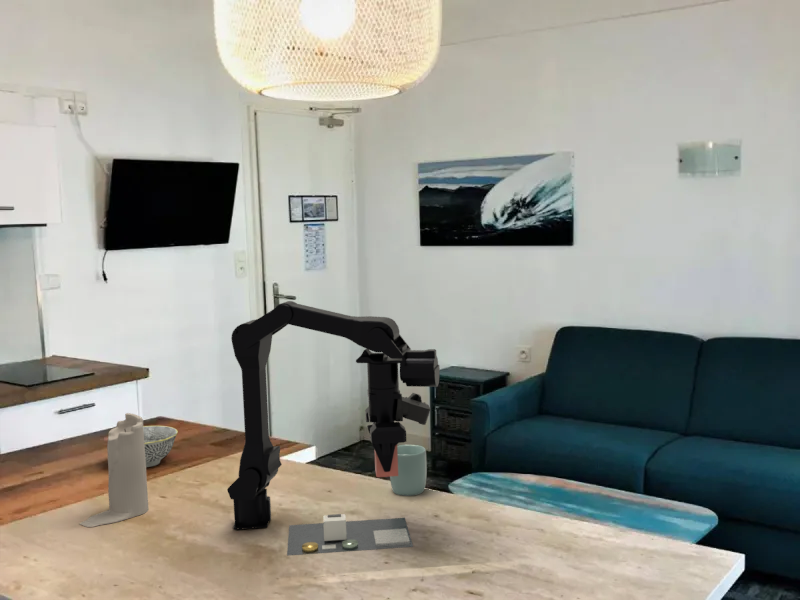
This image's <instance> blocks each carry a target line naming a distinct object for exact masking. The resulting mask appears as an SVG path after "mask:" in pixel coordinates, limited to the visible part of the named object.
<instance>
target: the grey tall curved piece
mask: <svg viewBox="0 0 800 600" xmlns="http://www.w3.org/2000/svg"><path fill="white" fill-rule="evenodd" d="M124 416H125V417H124V418H125V419H124V420H118V421H117V423H116V426H115V427H113V428H111V429H110V430H109V432H108V433H107V434H108V437H107V444H106V445H107V448H106V449H107V464H108V465H107V467H108V484H107V485H108V486H107V487H108V489H107V490H108V505H109V507H108V508H109V509H107V510H104V511H102V512H99V513H97V514H93V515H91V516H90V517H88V518H87V519H86V520H84V521H81V522H79V525H82V526H83V527H85V528H92V527H98V526H101V525H110V524H114V523H119V522H121V521H125V520H127V519H132V518H135V517H137V516H141V515H143V514H145V513H147V512H148V511H149V496H148V481H147V478H148V477H147V467H146V458H145V445H144V429H143V426H144V419H143V418H142V417H141V416H140V415H138V414H135V413H131V412H130V413H129V412H125V415H124Z"/></svg>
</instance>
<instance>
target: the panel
mask: <svg viewBox="0 0 800 600" xmlns="http://www.w3.org/2000/svg"><path fill="white" fill-rule="evenodd" d="M346 536H347V540H332V541H324V523H323V522H321V523H320V522H319V523H304V524H303V523H302V524H289V526H288V538H287V547H286V548H287V549H286V556H289V557H290V556H300V555H301V556H303V555H313V554H314V555H315V554H317V555H318V554H329V553H342V552H343V553H346V552H359V551H360V552H361V551H372V550H375V551H376V550H384V549H385V550H387V549H401V548H403V549H404V548H413V547H414V545H413V541H412V537H411V534H410V531H409V527H408V524H407V521H406V518H405V517H395V518H394V517H393V518H380V519H367V520H363V519H362V520H349V521H347V520H346Z"/></svg>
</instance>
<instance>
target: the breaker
mask: <svg viewBox="0 0 800 600" xmlns="http://www.w3.org/2000/svg"><path fill="white" fill-rule="evenodd" d="M346 518H347V517H346V514H345V513H343V514H342V513H335V514H327V515H325V514H324V515H323V519H322V520H323V522H322V523H324V541H332V540H347V536H346V521H347V519H346Z"/></svg>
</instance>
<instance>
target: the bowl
mask: <svg viewBox="0 0 800 600" xmlns="http://www.w3.org/2000/svg"><path fill="white" fill-rule="evenodd" d="M143 429H144V445H145V458H146V468H149V467H151V468H152V467H154V466H157V465H159V464H160V463H161V460H162V459H164V458H165V457H166V456H168V455H169V453H170V452H171V451H172V449H173V446H174V444H175V443H174V442H175V439H176V437H177V435H178V429H176V428H175V427H172V426H166V425H143Z"/></svg>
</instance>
